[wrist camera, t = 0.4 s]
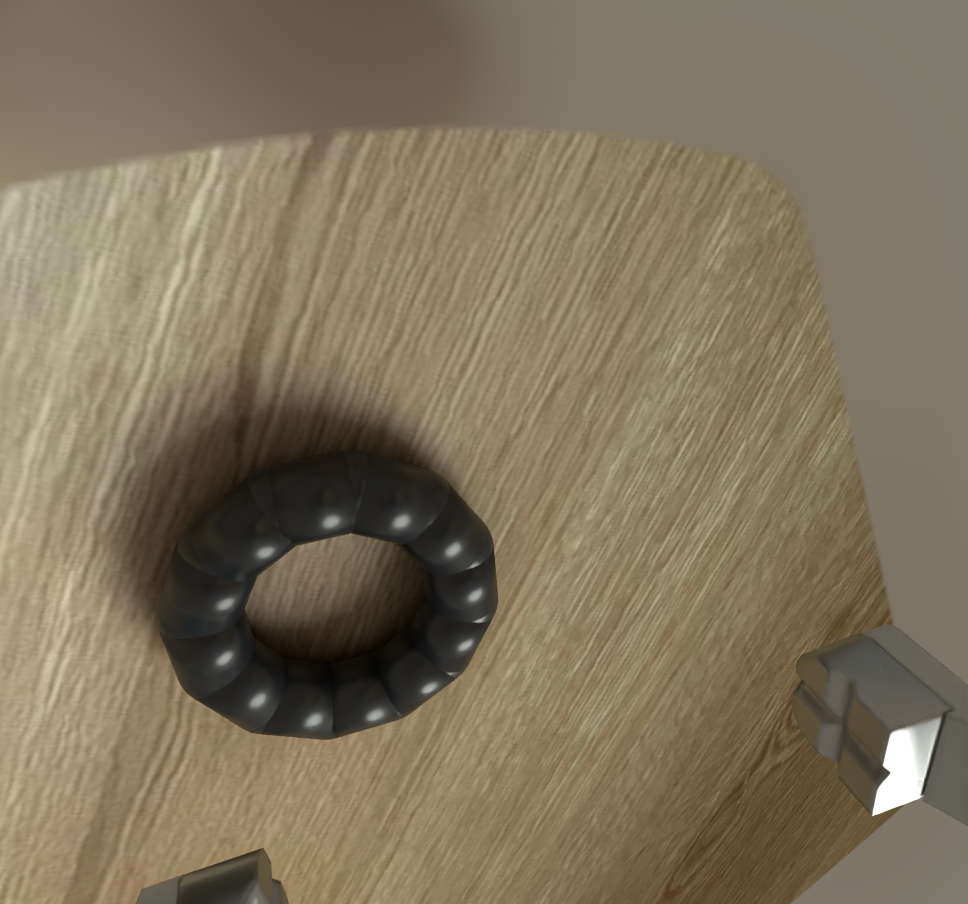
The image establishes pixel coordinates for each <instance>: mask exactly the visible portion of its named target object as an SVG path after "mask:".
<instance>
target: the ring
mask: <svg viewBox="0 0 968 904" xmlns="http://www.w3.org/2000/svg"><path fill="white" fill-rule="evenodd" d="M349 533H352V534H356V535H361V536H365V537H370V538H374V539H379V540H383V541H388V542H392V543H397V544H398V545H399V546H400V547H401V548H402V549H404V550H405V551H406V552H407V553H408V554H409V555H410V556H411V557H412V558H413V559H414V560H415V561H416V562H417V563H418V564H419V565H420V566H421V568H422V575H423V582H424V588H425V596H424V598H423V600H422V602H421V604H420V606H419V608H418V610H417V612H416V614H415V616H414V618H413V620H412V622H411V625H409V626H408V627H407V628H406V629H404V630H403V631H402V632H400V633H399V634H398V635H396V636H395V637H394V638H393V639H391V640H390V641H389V642H387V643H386V644H385V645H383V646H382V647H381V648H380V649H378V650H377V651H376V652H373V653H369V654H365V655H361V656H358V657H354V658H350V659H347V660H343V661H339V662H335V663H332V664H321V663H314V662H306V661H299V660H292V659H284V658H282V657H280V656H279V655H278V654H276V653H275V652H273V651H272V650H271V649H269V648H268V647H267V646H265V645H264V644H262V643H261V642H260V641H258V640H257V639H255V638H254V637H253V635H252V632H251V628H250V625H249V622H248V619H247V616H246V612H245V606H246V604H247V601H248V599H249V596H250V593H251V591H252V588H253V586H254V583H255V581H256V578H257V576H258V575H260V574H261V573H262V572H263V571H265V570H266V569H267V568H269V567H270V566H271V565H272V564H274V563H275V562H276V561H278V560H279V559H280V558H281V557H283V556H284V555H285V554H286V553H288V552H289V551H290V550H292V549H293V548H294V547H295V546H297V545H302V544H306V543H310V542H315V541H319V540H323V539H328V538H332V537H336V536H341V535H345V534H349ZM497 605H498V591H497V579H496V568H495V557H494V545H493V539H492V536H491V533H490V531H489V529H488V528H487V526H486V525H485V523H484V522H483V521H482V520H481V519H480V518H479V517H478V516H477V514H476V513H475V512H474V511H473V510H472V509H471V508H470V507H469V506H468V505H467V503H466V502H465V501H464V500H463V499H462V498H461V497H460V496H459V495H458V493H457V492H456V491H455V490H454V489H453V488H452V487H451V486H450V485H449V484H448V482H447V481H446V480H445V479H444V478H443V477H441V476H440V475H438V474H436V473H435V472H433V471H430V470H427V469H424V468H420V467H416V466H413V465H409V464H406V463H402V462H398V461H395V460H391V459H387V458H384V457H380V456H377V455H373V454H369V453H366V452H362V451H356V450H349V451H341V452H336V453H331V454H326V455H321V456H316V457H311V458H307V459H302V460H297V461H292V462H287V463H282V464H277V465H272V466H268V467H265V468H262V469H259V470H257V471H255V472H254V473H252V474H251V475H249V476H248V477H247V478H245V479H244V480H243V481H242V482H240V483H239V484H238V485H237V486H235V487H234V488H233V489H232V490H230V491H229V492H228V493H227V494H225V495H224V496H223V497H221V498H220V499H219V500H218V501H216V502H215V503H214V504H213V505H211V506H210V507H209V508H208V509H206V510H205V511H204V512H203V513H201V514H200V515H199V516H198V517H196V518H195V519H194V520H193V521H191V522H190V523H189V524H188V525H187V526H186V528H185V529H184V530H183V532H182V533H181V535H180V537H179V539H178V542H177V544H176V547H175V550H174V553H173V556H172V559H171V562H170V565H169V568H168V571H167V574H166V577H165V580H164V583H163V586H162V589H161V592H160V595H159V598H158V601H157V605H156V610H155V619H156V624H157V627H158V630H159V632H160V635H161V637H162V640H163V643H164V645H165V648H166V650H167V653H168V655H169V658H170V660H171V663H172V665H173V668H174V670H175V673H176V675H177V678H178V680H179V683H180V685H181V686H182V688H183V689H184V690H185V691H186V693H187V694H189V695H190V696H191V697H193V698H194V699H196V700H197V701H199V702H201V703H202V704H204V705H205V706H207V707H209V708H210V709H212V710H213V711H215V712H217V713H218V714H220V715H221V716H223V717H225V718H226V719H228V720H230V721H231V722H233V723H234V724H236V725H238V726H239V727H241V728H242V729H244V730H246V731H249V732H251V733H256V734H263V735H275V736H286V737H297V738H309V739H320V740H329V739H334V738H338V737H342V736H345V735H348V734H352V733H355V732H359V731H362V730H366V729H369V728H372V727H376V726H379V725H383V724H386V723H389V722H393V721H396V720H399V719H402V718H404V717H406V716H407V715H409V714H410V713H412V712H413V711H414V710H416V709H417V708H418V707H419V706H421V705H422V704H423V703H425V702H426V701H427V700H429V699H430V698H431V697H433V696H434V695H435V694H437V693H438V692H439V691H441V690H442V689H443V688H444V687H446V686H447V685H448V684H450V683H451V682H452V681H454V680H455V679H456V678H458V677H459V676H460V675H461V674H462V673H463V672H464V670H465V669H466V668H467V666H468V664H469V662H470V661H471V659H472V657H473V655H474V653H475V651H476V649H477V647H478V645H479V643H480V642H481V640H482V638H483V636H484V634H485V632H486V630H487V628H488V626H489V624H490V623H491V621H492V619H493V617H494V615H495V612H496V609H497Z"/></svg>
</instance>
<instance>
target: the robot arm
mask: <svg viewBox="0 0 968 904" xmlns="http://www.w3.org/2000/svg"><path fill="white" fill-rule="evenodd" d="M796 673H797V675H798V676H799V677H800V678H801V679H802V681H801V683H800V684H799V685H798V687H797V688H796V690H795V691H794V692H793V702H792V710H793V713H794V716H795V719H796V722H797V725H798V727H799V729H800V730H801V732H802V734H803V735H804V737H805V739H806V740H807V741H808V742H809V744H810V745H811V746H812V747H813V748H814V750H815V751H816V752H817V753H818V754H820V755H823V756H825V757H827V758H829V759H831V760H834V761H836V762H837V768H838V777H839V779H840V780H841V781H842V782H843V784H844V785H845V786H846V787H847V788H848V789H849V790H850V792H851V793H852V794H853V795H854V796H855V797H856V798H857V800H858V801H859V802H860V803H861V804H862V805H863V807H864V808H865V809H866V810H867V811H868V812H869V813H870V815H871V816H874V815H876V814H879V813H882V812H884V811H887V810H890V809H892V808H895V807H898V806H900V805H903V804H906V803H908V802H911V801H913V800H916V799H919V798H921V797H923V801H924V802H926V803H927V804H929V805H931V806H933V807H935V808H936V809H938V810H940V811H942V812H944V813H945V814H947V815H949V816H951V817H953V818H954V819H956V820H958V821H960V822H962V823H963V824H965V825H967V826H968V685H967V684H966V683H965V682H964V681H962V680H961V679H960V678H959V677H957V676H956V675H955V674H954V673H953V672H951V671H950V670H949V669H948V668H947V667H945V666H944V665H943V664H942V663H940V662H939V661H938V660H937V659H936V658H934V657H933V656H932V655H930V654H929V653H928V652H927V651H926V650H925V649H923V648H922V647H921V646H920V645H919V644H917V643H916V642H915V641H914V640H912V639H911V638H910V637H909V636H908V635H906V634H905V633H904V632H902V630H900V629H899V628H897V627H895V626H892V625H890V624H886V625H882V626H879V627H876V628H874V629H871V630H869V631H866V632H863V633H861V634H858V635H852V636H849V637H847V638H844V639H841V640H839V641H836V642H833V643H831V644H828V645H826V646H823V647H820V648H818V649H815V650H812V651H810V652H807V653H804V654H802V655H801V657H800V658H799V659H798V660H797V665H796ZM136 904H289V902H288V899H287V896H286V892H285V890H284V888H283V886H282V884H281V881H278V880H275V879H272V872H271V861H270V859H269V857H268V855H267V854H266V852H265V850H264V848H261V849H258V850H255V851H252V852H250V853H247V854H244V855H241V856H238V857H235V858H232V859H229V860H226V861H223V862H220V863H217V864H214V865H211V866H208V867H205V868H202V869H199V870H196V871H193V872H190V873H187V874H183V875H181V876H178V877H175V878H172V879H169V880H166V881H164V882H161V883H158V884H155V885H152V886H150V887H147V888H144V889H142V890H141V892H140V894H139V897H138V899H137V902H136Z"/></svg>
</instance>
